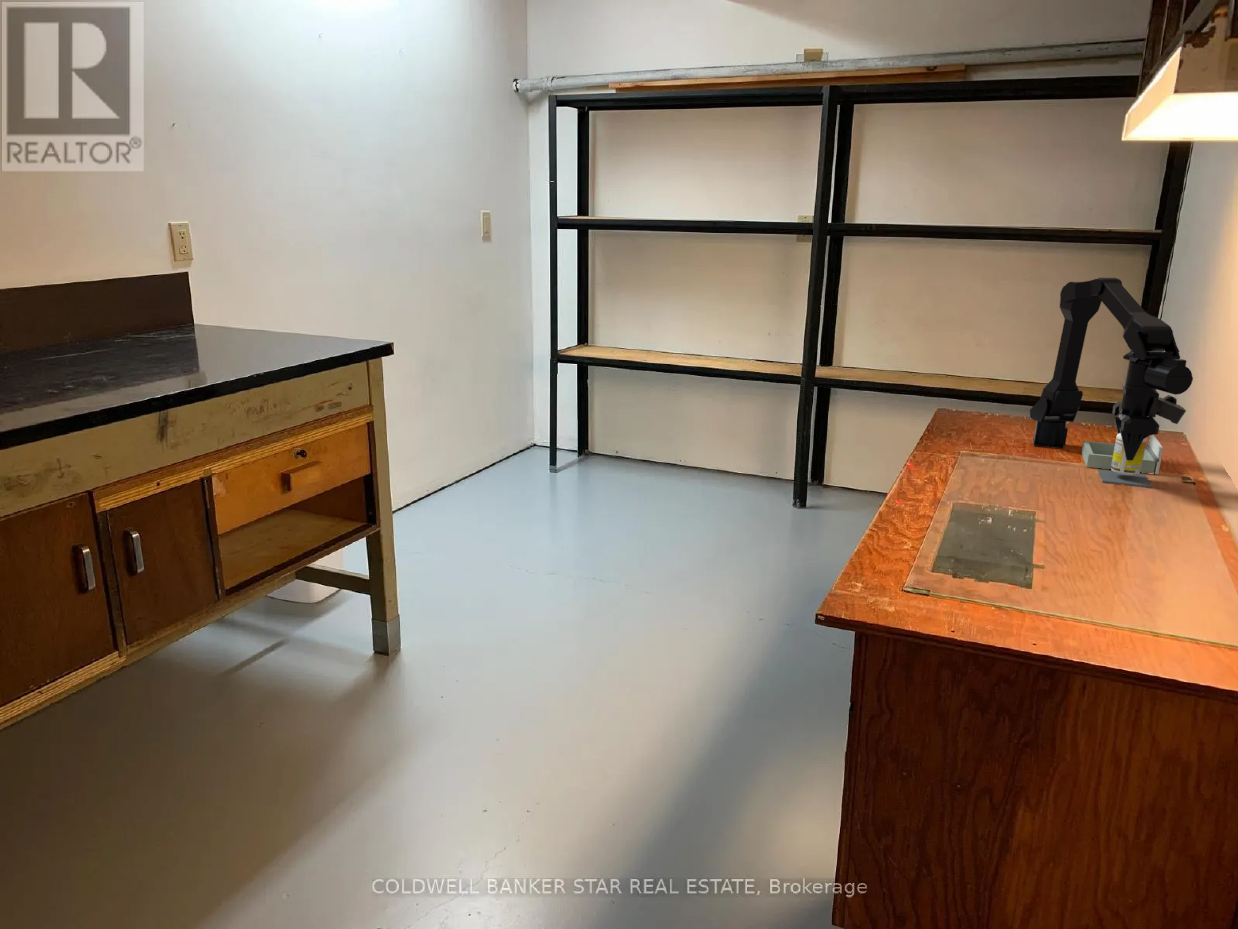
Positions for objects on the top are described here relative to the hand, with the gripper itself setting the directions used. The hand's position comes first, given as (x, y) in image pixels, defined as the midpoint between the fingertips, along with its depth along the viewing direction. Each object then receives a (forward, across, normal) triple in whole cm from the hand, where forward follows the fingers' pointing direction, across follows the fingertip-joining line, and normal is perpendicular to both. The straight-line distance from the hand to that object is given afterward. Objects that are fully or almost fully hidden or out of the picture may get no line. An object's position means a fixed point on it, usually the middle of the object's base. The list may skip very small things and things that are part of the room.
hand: (1127, 456), depth 182 cm
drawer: (+5, +13, 0) cm, 14 cm away
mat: (+5, 0, 0) cm, 5 cm away
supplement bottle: (+4, 0, 0) cm, 4 cm away
